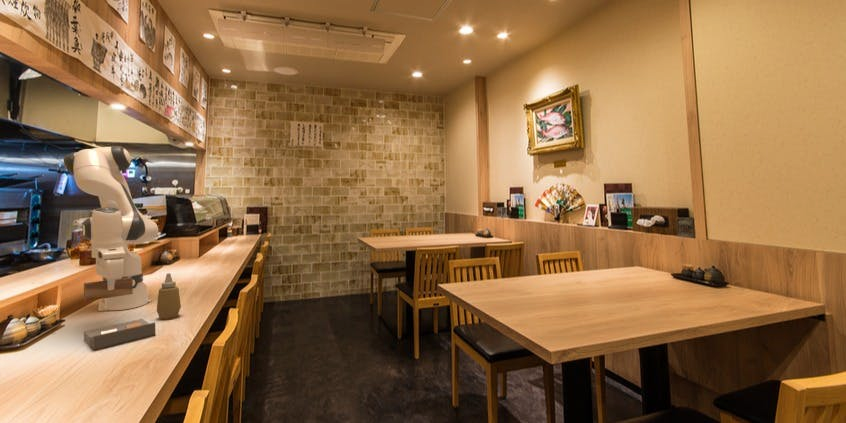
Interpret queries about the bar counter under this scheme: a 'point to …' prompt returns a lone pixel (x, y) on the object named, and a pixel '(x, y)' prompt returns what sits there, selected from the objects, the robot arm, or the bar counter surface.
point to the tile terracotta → (133, 325)
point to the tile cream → (108, 331)
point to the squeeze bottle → (168, 299)
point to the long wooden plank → (100, 290)
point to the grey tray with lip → (118, 334)
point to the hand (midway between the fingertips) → (109, 288)
